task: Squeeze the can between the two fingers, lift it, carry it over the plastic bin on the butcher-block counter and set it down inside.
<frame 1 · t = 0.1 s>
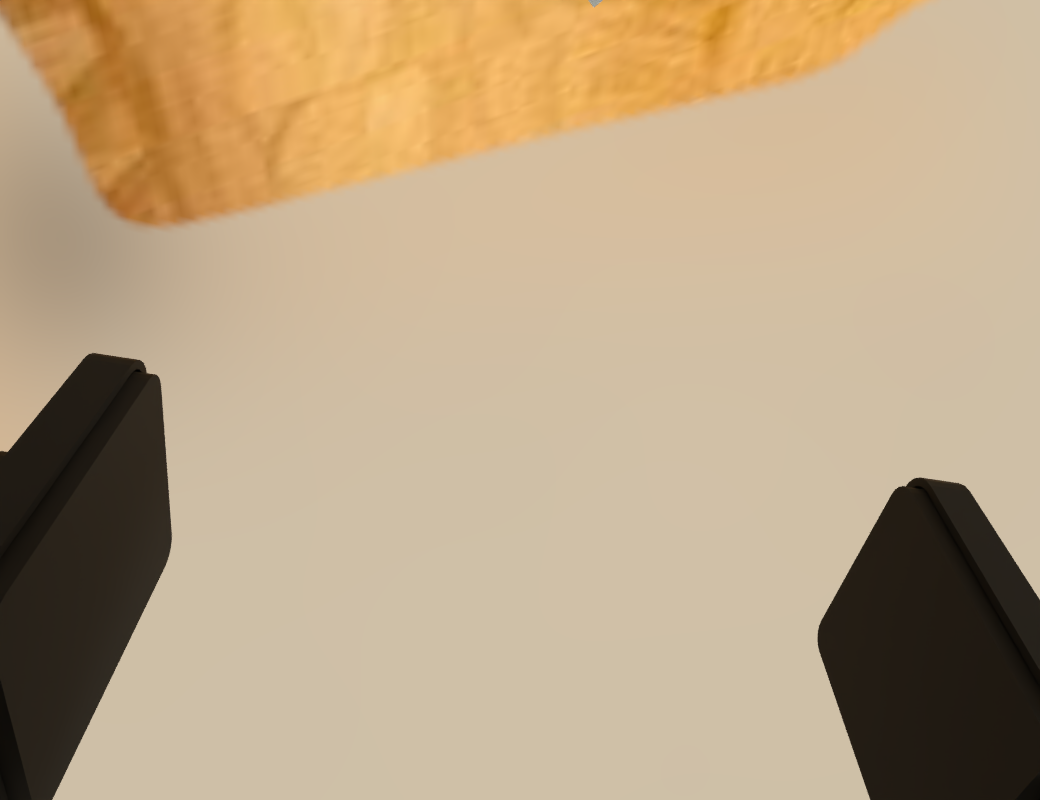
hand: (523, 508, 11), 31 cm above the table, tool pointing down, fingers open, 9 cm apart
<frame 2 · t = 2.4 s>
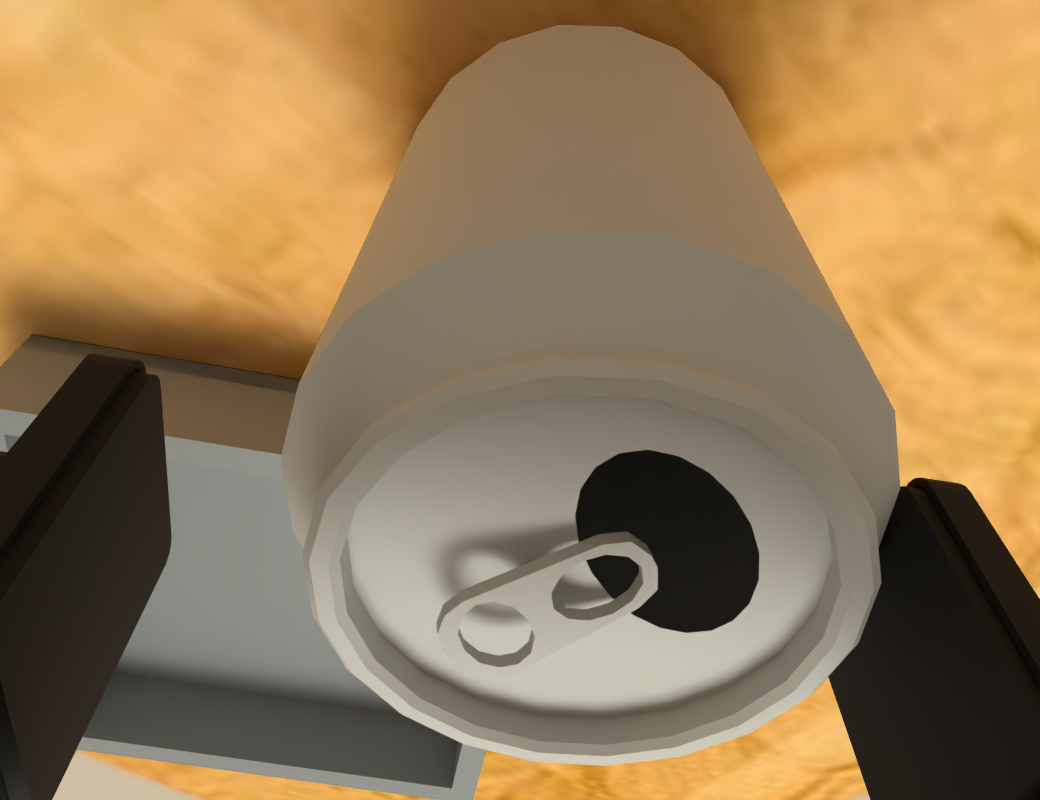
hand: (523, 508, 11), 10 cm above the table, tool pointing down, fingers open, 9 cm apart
bin: (292, 560, 26), on the table
can: (577, 192, 19), on the table, touching gripper
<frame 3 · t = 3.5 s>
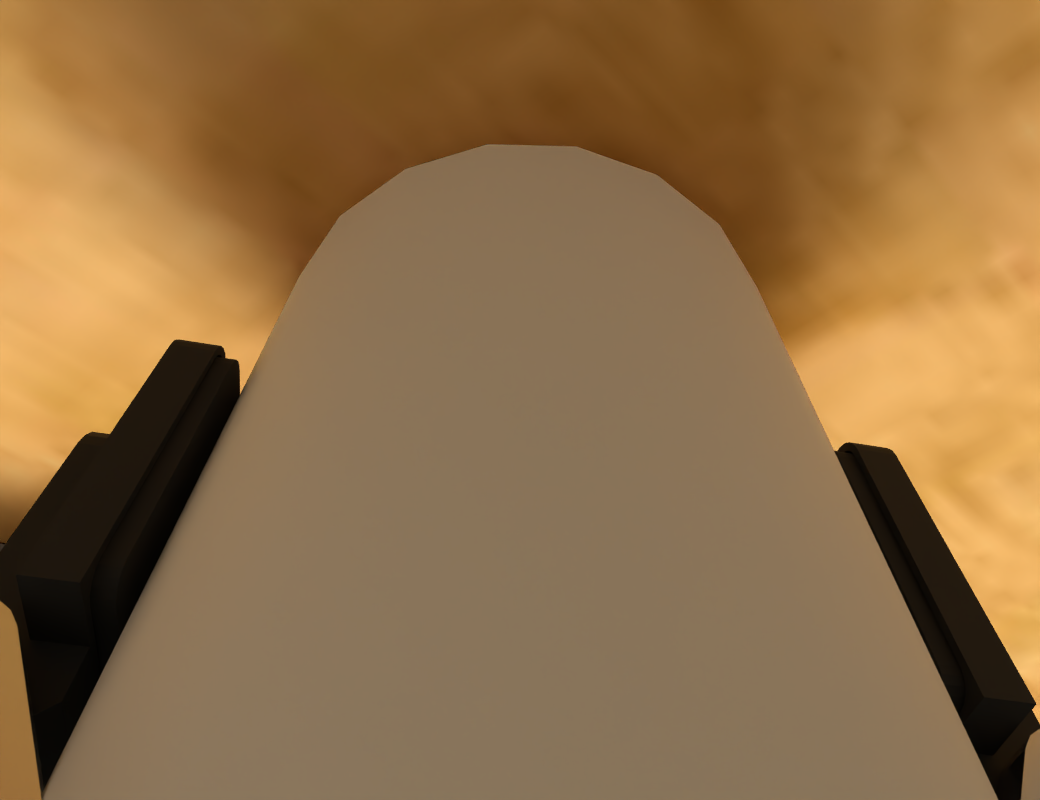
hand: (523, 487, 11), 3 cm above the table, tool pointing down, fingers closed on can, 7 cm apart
can: (525, 343, 14), on the table, touching gripper
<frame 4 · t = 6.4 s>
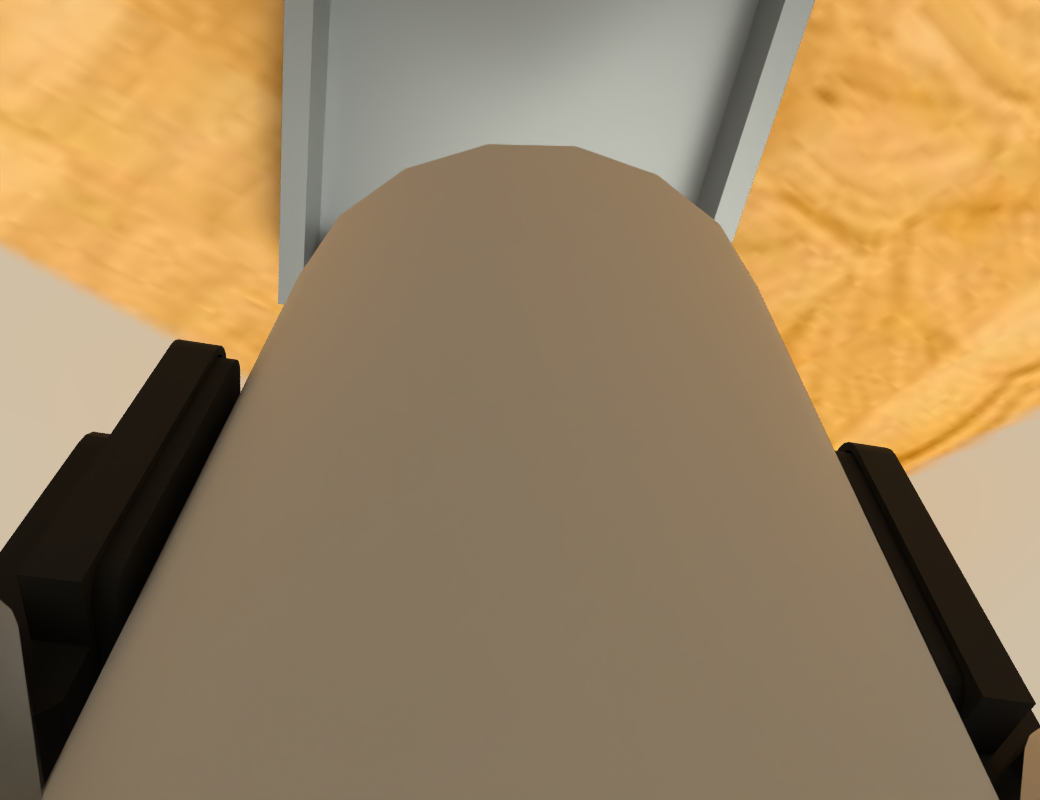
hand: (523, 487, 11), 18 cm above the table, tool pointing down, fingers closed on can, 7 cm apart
bin: (525, 102, 27), on the table
can: (525, 343, 14), point 15 cm above the table, touching gripper
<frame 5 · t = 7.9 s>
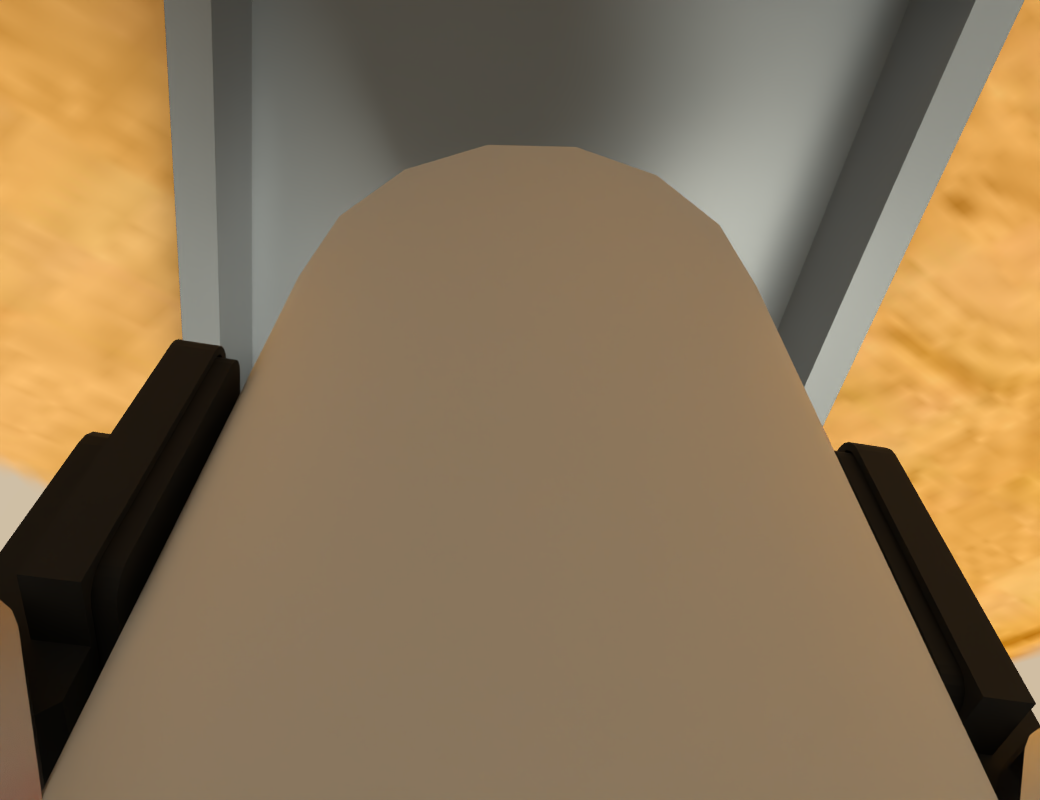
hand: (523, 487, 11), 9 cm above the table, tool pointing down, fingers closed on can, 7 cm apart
bin: (534, 211, 19), on the table
can: (525, 344, 14), point 6 cm above the table, touching gripper
when the fingers open (6 cm above the table, at t = 9.2 s): can drops 2 cm, resting on bin.
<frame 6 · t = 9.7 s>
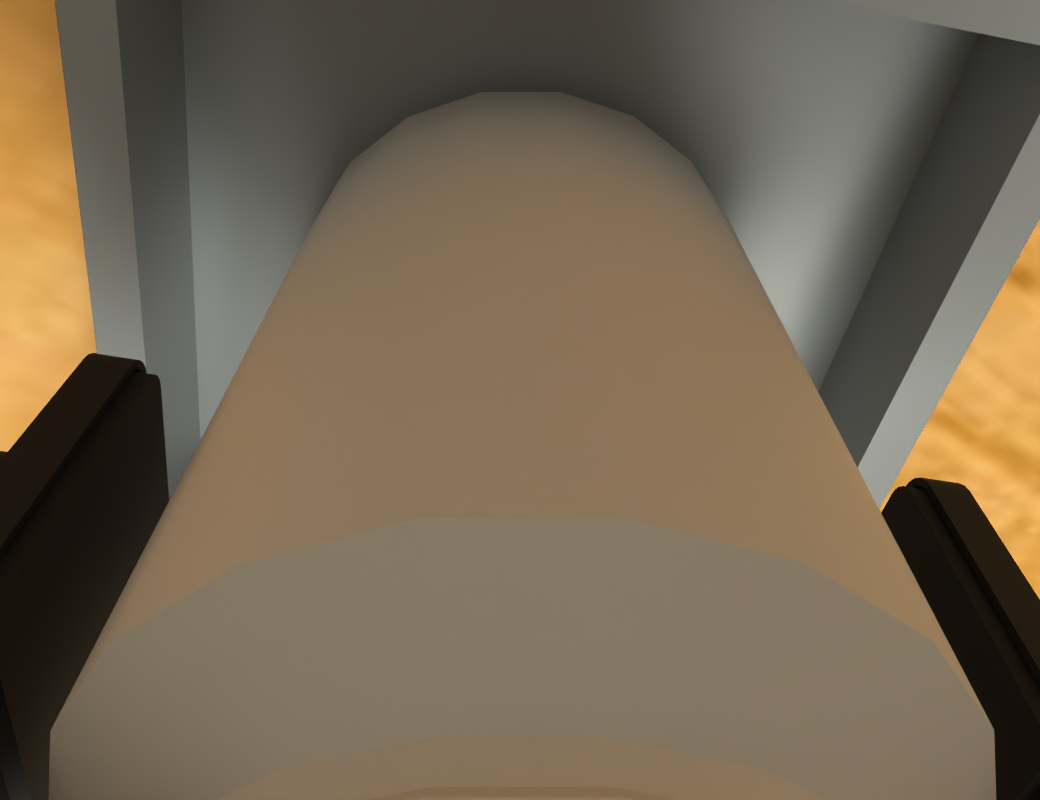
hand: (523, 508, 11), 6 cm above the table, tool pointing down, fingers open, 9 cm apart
bin: (525, 284, 16), on the table
can: (521, 284, 16), resting on bin
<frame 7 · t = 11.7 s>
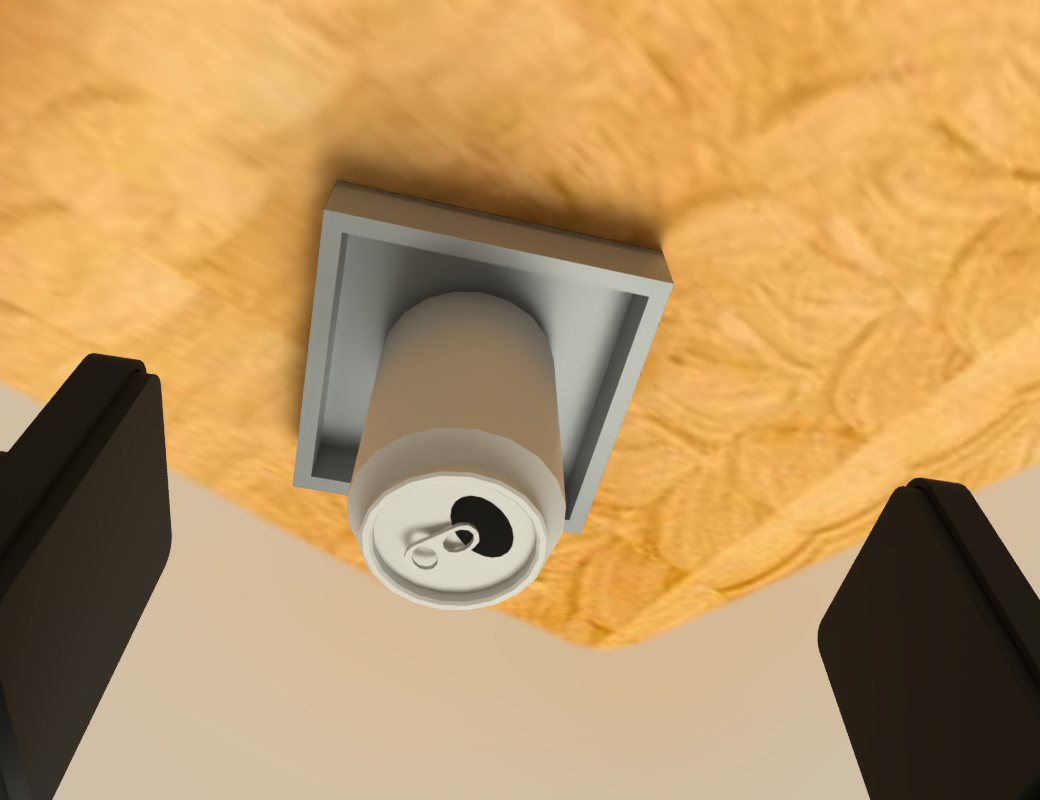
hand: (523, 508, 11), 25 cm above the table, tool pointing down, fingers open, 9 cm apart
bin: (471, 355, 38), on the table
can: (468, 355, 38), resting on bin
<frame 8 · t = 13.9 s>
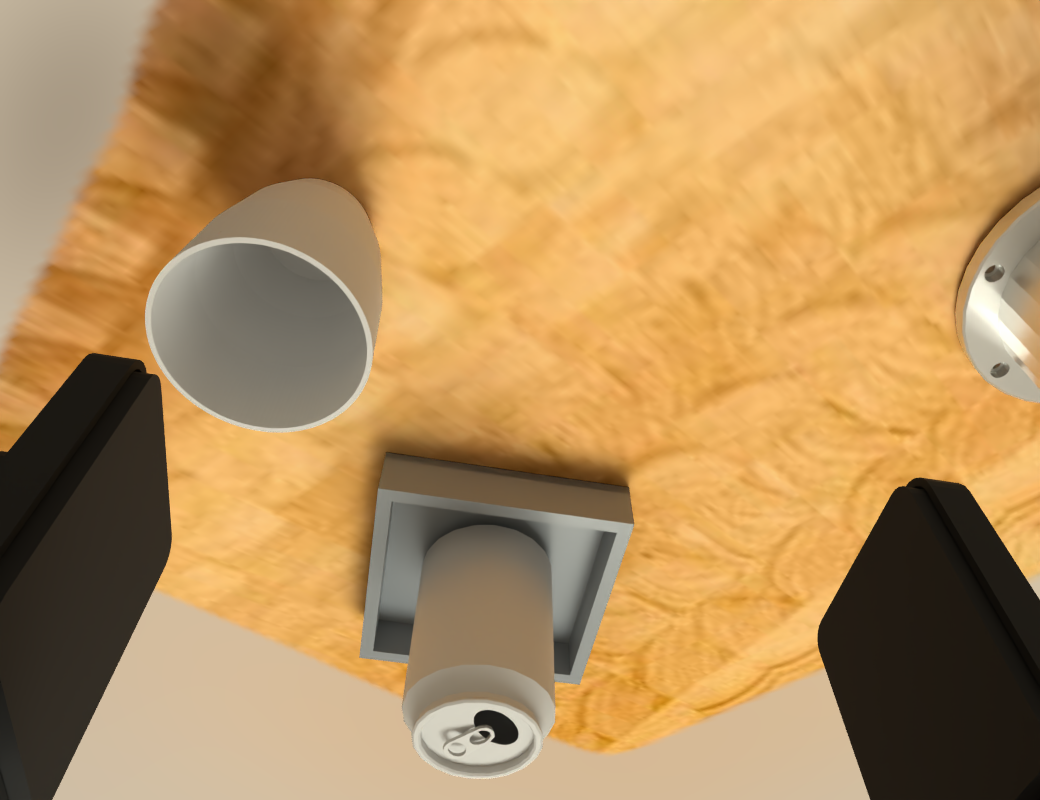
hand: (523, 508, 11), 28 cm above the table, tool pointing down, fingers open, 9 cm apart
bin: (490, 557, 51), on the table
can: (487, 559, 50), resting on bin
cup: (317, 228, 39), on the table
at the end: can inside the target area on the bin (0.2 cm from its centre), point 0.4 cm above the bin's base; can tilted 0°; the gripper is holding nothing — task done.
